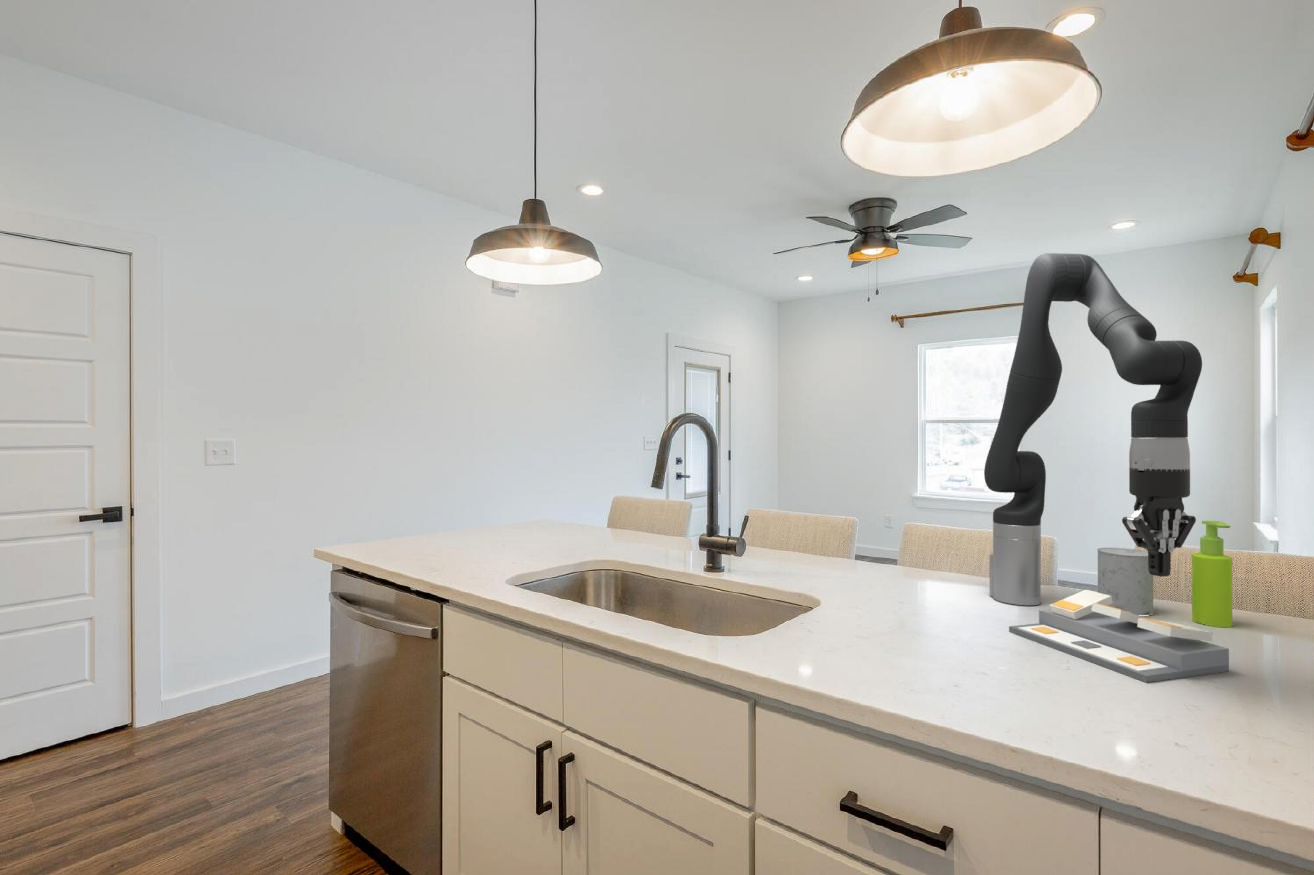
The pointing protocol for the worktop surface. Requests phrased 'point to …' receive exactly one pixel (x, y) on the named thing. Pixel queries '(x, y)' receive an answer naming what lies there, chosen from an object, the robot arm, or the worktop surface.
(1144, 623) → the rocker right
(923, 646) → the worktop surface
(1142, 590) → the grey concrete cylinder
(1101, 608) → the rocker middle
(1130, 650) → the switch unit
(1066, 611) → the plate
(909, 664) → the worktop surface
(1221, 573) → the soap dispenser
